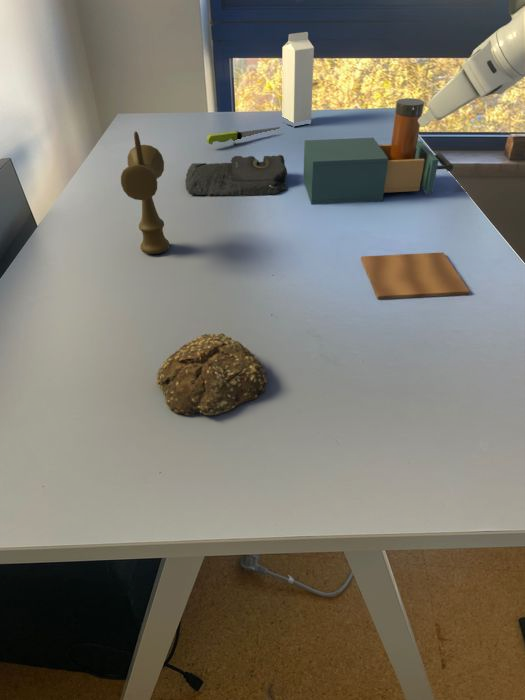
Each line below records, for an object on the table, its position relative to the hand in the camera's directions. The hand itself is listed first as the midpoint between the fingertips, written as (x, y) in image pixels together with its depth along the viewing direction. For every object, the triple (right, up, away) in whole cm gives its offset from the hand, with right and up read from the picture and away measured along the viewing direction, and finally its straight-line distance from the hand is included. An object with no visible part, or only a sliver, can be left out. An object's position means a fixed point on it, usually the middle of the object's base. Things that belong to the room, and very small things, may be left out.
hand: (430, 116), depth 98 cm
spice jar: (-4, -9, +10) cm, 13 cm away
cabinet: (-16, -11, +10) cm, 22 cm away
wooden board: (-8, -33, -16) cm, 37 cm away
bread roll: (-39, -49, -34) cm, 71 cm away
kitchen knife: (-37, +10, +36) cm, 52 cm away
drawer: (-3, -9, +10) cm, 14 cm away
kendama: (-51, -27, -8) cm, 58 cm away
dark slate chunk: (-38, -8, +15) cm, 42 cm away
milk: (-23, +19, +47) cm, 56 cm away
